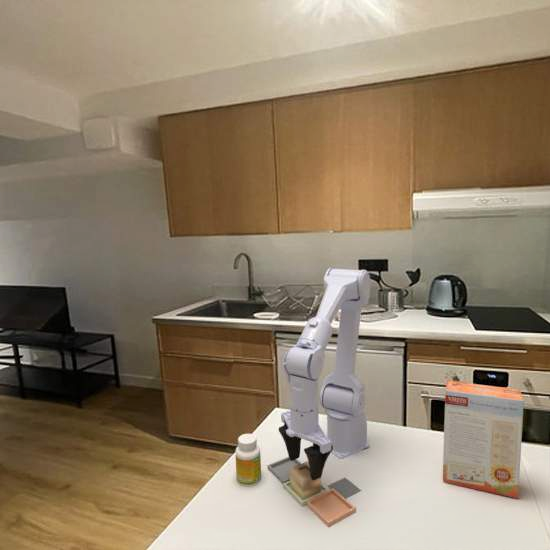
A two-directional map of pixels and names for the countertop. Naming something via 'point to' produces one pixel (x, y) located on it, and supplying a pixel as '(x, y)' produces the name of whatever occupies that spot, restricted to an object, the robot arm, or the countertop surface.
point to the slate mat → (344, 488)
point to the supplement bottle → (248, 461)
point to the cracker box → (483, 437)
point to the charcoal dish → (283, 469)
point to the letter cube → (304, 481)
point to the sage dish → (302, 502)
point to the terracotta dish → (331, 507)
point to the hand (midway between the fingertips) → (305, 467)
